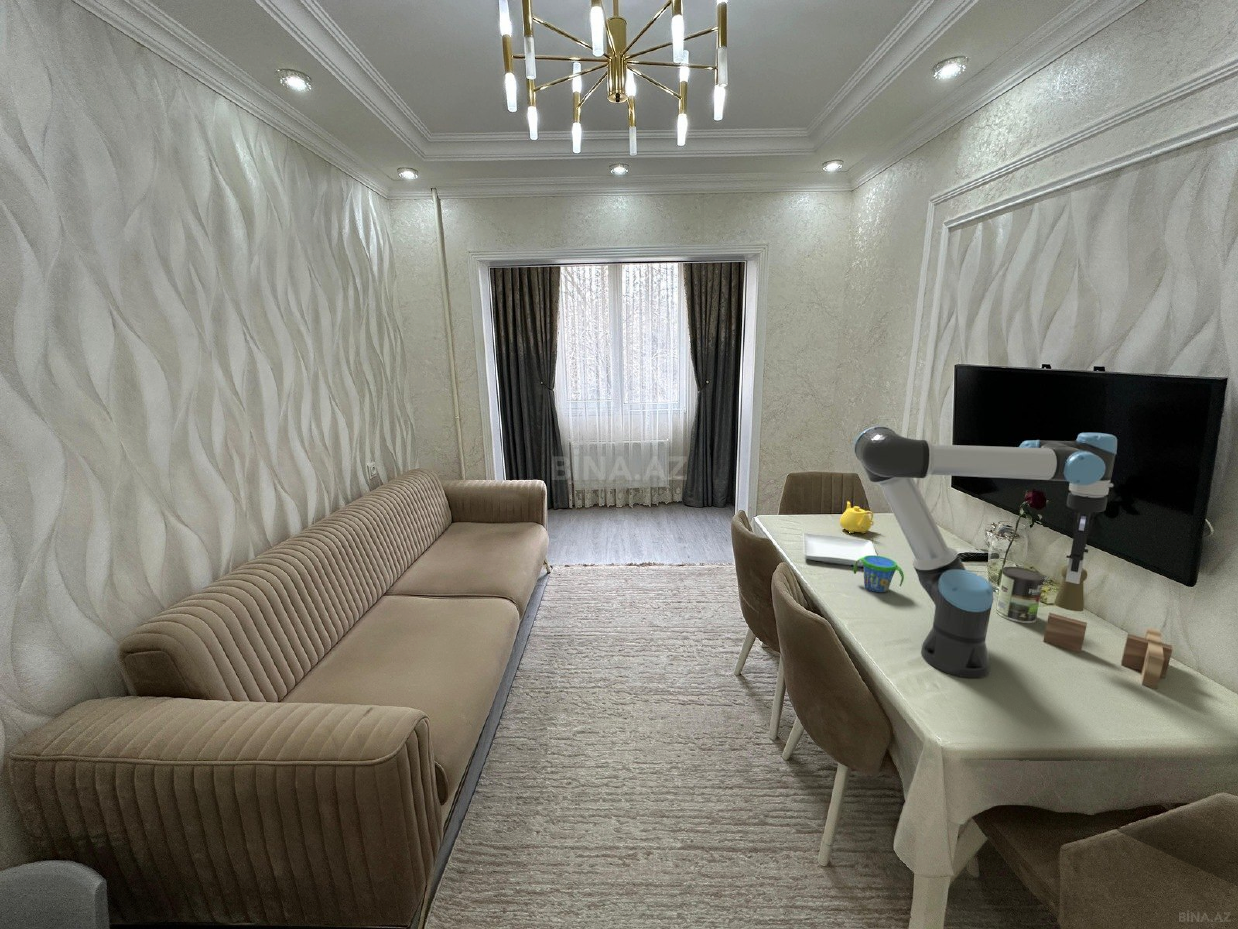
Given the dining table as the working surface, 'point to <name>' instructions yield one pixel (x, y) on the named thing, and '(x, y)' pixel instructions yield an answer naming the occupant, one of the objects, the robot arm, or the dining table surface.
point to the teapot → (856, 519)
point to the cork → (1071, 592)
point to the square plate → (836, 549)
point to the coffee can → (1019, 594)
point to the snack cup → (878, 572)
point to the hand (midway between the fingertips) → (1073, 578)
